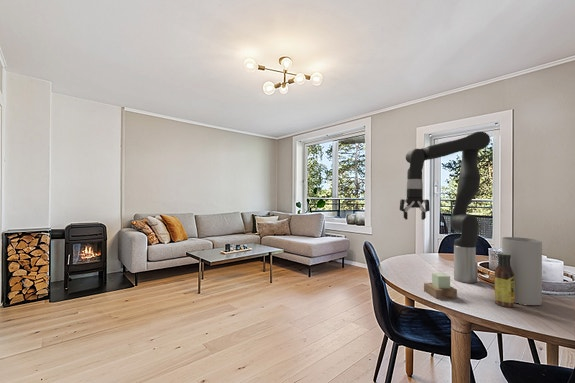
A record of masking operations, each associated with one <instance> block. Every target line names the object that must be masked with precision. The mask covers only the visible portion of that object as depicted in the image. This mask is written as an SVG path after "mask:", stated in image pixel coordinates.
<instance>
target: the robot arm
mask: <svg viewBox="0 0 575 383" xmlns="http://www.w3.org/2000/svg"><path fill="white" fill-rule="evenodd" d="M490 143H491V136H490V135H489V134H488V133H487V132H485V131H476V132H473V133H471V134H468V135H466V136H464V137H461V138H458V139H455V140H448V141H445V142H441V143H436V144H432V145H428V146H425V147H423V148H414V149H412V150H409V151H407V153H406V154H405V160H406V162H407V163H409V168H408V169H407V171H406V172H407V175H406V176H407V177H406V179H407V180H406V199H403V198H401V199H400V200H399V211H401V212H403V219H404V220H405V221H406V220H408V217H409V216H408V211H409V210H410V209H414V208H415V209H416V208H418V209H419V210H420V211H421V220H424V221H425V219H426V217H427V214H426V213H427V212H430V210H431V209H430V207H431V206H430V200H429V199H428V198H427V199H423V198H424V197H423V194H424V191H423V189H424V188H423V187H424V185H423V184H424V182H423V169H424V168H423V167H424V164H425V161H429V160H434V159H439V158H442V157H443V158H444V157H447V156H449V155H453V154H456V153H459V152H461V163H460V171H459V177H458V182H457V189H456V196H455V202H454V206H453V210H452V214H451V216H450V217H451V218H450V227H451V229H452V230H453V231H455V232H460V233H461V235H460V237H459V238H456V239H454V240H453V241H454V242H453V279H454V281H457V282H461V283H465V284H466V283H469V284H474V283H478V280H479V279H478V278H479V276H478V272H479V271H478V269H479V266H478V262H477V260H476V258H477V257H476V253H477V252H476V251H477V250H476V248H477V246H476V245H477V243H478V240H479V239H478V238H479V237H478V236H479V221H478V219H477V217H476V216H475V215H473V214H468V213H467V210H468V207H469V205H470V203H471V201H472V200H473V199H474V198H475V196H476V195H477V193H478V192H479V190H480V184H481V173H480V169H479V166H478V157H479V156H478V155H479V151H481V150H483V149H486V148H487V147H488V146H489V144H490ZM405 204H407V205H406V206H405ZM422 204H424V205H422Z"/></svg>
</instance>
